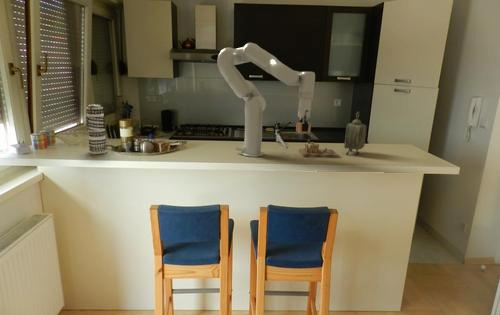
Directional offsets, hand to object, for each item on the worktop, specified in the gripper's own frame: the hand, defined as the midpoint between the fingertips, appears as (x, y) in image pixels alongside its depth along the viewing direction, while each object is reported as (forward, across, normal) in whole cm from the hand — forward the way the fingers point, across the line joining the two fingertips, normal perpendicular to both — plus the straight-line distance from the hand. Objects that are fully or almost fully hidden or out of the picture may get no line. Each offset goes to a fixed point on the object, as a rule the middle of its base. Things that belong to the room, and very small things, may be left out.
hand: (303, 130), depth 174 cm
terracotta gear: (+1, 0, 0) cm, 1 cm away
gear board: (+16, -11, +12) cm, 23 cm away
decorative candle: (+16, -4, -109) cm, 110 cm away
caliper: (+16, -35, -6) cm, 39 cm away
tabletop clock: (+16, -14, +34) cm, 40 cm away
